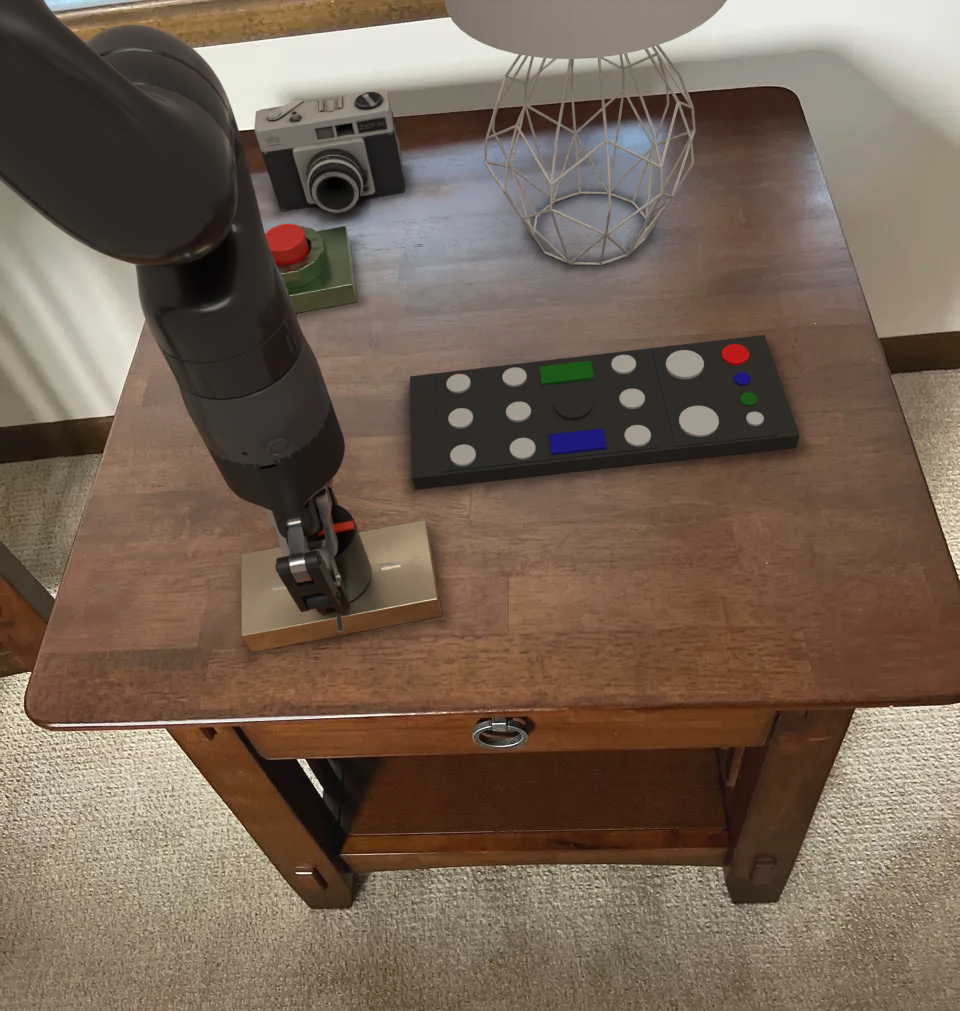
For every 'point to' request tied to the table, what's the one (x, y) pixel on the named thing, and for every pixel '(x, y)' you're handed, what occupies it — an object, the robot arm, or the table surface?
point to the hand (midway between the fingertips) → (331, 564)
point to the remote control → (598, 412)
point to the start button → (287, 244)
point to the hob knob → (348, 552)
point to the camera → (331, 151)
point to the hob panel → (385, 601)
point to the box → (322, 272)
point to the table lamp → (572, 35)
